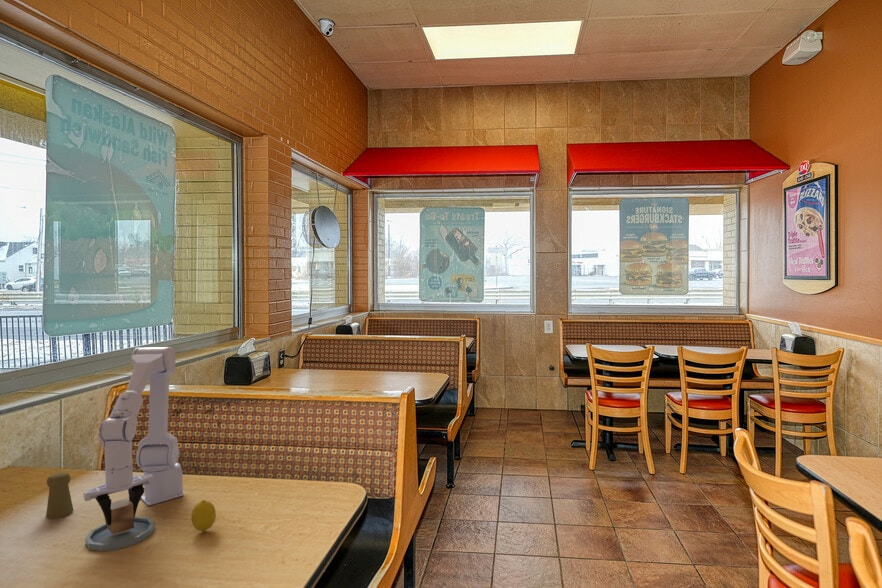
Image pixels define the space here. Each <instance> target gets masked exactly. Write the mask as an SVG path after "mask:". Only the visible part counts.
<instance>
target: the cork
mask: <svg viewBox="0 0 882 588" xmlns="http://www.w3.org/2000/svg"><path fill="white" fill-rule="evenodd" d="M46 479H47V480H46V485H47V487H48V489H49V490H48V496H47V505H46V515H45V518H46V519H48V520H49V519H52V520H55V519H59V518H60V517H61V518H64V517H66V515H67V516H69V515H70V513H71V512H72V511H73V512H74V507H73V501H72V496H71V491H70V486H69V484H70V482H71V474H70V473H69V472H66V471H59V472H56V473H52V474H50V475H49V476H48V477H47V478H46ZM73 512H72V513H73ZM72 513H71V514H72ZM68 514H69V515H68ZM63 516H64V517H63Z"/></svg>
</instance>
